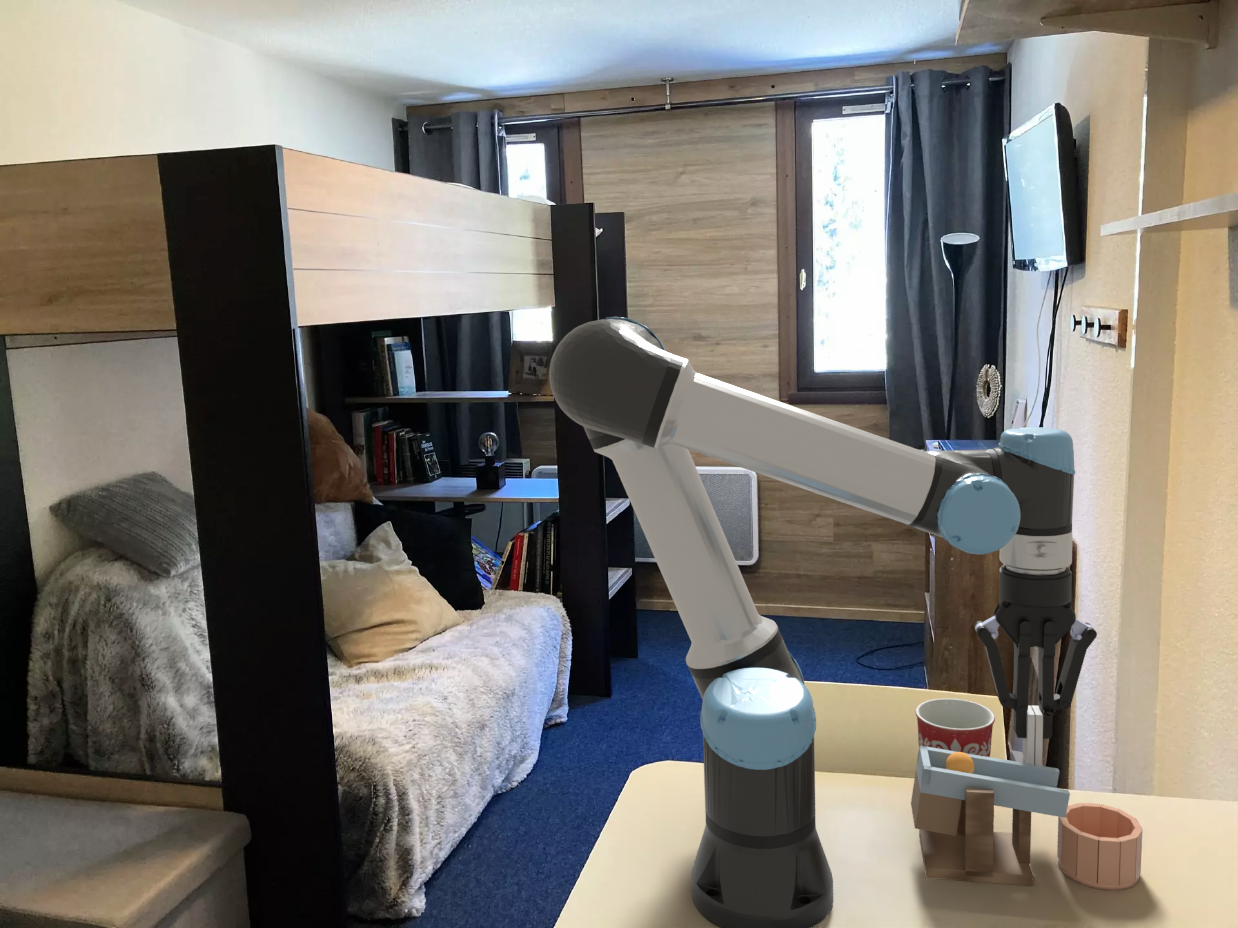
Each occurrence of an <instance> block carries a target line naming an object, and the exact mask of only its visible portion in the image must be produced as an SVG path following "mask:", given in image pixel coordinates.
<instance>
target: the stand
mask: <svg viewBox="0 0 1238 928" xmlns="http://www.w3.org/2000/svg"><path fill="white" fill-rule="evenodd" d="M994 818H995V805H994V791H993V789H982V788H965V800H962V803H961V809H960V815H959V822H958V828H957V834H956V836H954V835H948V834H943V833H937V832H932V831H926V830H921V829H918V830H919V832H918V833H919V835H918V836H919V842H920V843H919V844H920V848H921V849H920V850H921V855H922V860H923V867H924V873H925V878H926V879H936V880H938V879H939V880H951V881H963V882H975V883H976V882H977V883H989V884H991V883H992V884H1002V885H1003V884H1005V885H1014V886H1015V885H1017V886H1028V887H1029V886H1030V887H1034V873H1033V871H1032V868H1031V865H1030V864H1031V846H1032V845H1031V842H1032V841H1031V839H1032V812H1029V811H1024V810H1018V809H1012V823H1011V824H1012V827H1011V832H1001V831H1000V832H999V831H994V829H995V828H994V827H995V826H994V825H995V823H994V822H995V819H994Z"/></svg>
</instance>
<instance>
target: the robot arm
mask: <svg viewBox="0 0 1238 928" xmlns="http://www.w3.org/2000/svg"><path fill="white" fill-rule="evenodd" d="M551 356H552V357H551V360H550V364H549V384H550V385H549V386H550V388H551V392H552V395H553V399H555V401H556V403H557V405H558V407H559V408H560V409H561V410H562V411H563V413H564V414H565V415H566V416H567V417H568V418H569V419H571V420H572V421H573V422H575V423H577V424H578V425H580V426H582V427H583V429H584V432H585V433H586V436H587V438H588V440H589V443H590V445H591V447H592V449H593V451H594V453H597V454H599V455H602V456H605V457H606V458H609V459H610V460H612V463H613V465H614V467H615V469H616V472H617V473H618V477H619V478H620V481H621V483H622V486H623V488H624V490H625V492H626V495H627V496H628V500H629V501H630V503H631V507H632V508H633V511H634V514H635V516H636V517H637V521H638V522H639V524H640V528H641V530H642V532H643V534H644V536H645V539H646V540H647V543H648V545H649V547H650V550H651V552H652V554H653V557H654V559H655V561H656V564H657V566H658V569H659V570H660V573H661V575H662V578H663V579H664V582H665V584H666V586H667V589H668V591H669V594H670V595H671V599H672V601H673V603H674V605H675V607H676V610H677V611H678V614H679V617H680V619H681V621H682V624H683V626H684V628H685V630H686V632H687V635H688V637H689V639H690V642H691V644H690V647H689V650H688V652H687V654H686V657H685V663H686V665H687V666H688V669H689V672H690V673H691V676H692V679H693V680H694V681H693V682H694V684H695V686H696V688H697V690H698V693H699V695H700V697H701V699H702V706H701V709H700V717H699V718H700V728H701V731H702V747H703V748H702V749H703V751H702V752H703V777H704V778H703V780H704V784H703V785H704V809H705V812H704V813H705V827H704V829H703V833H702V836H701V840H700V843H699V845H698V849H697V852H696V855H695V859H694V863H693V865H692V869H691V876H690V878H691V880H690V882H691V898H692V901H693V904H694V905H695V907H696V909H697V910H698V911H699V912H700V914H701V915H703V917H704V918H706V919H707V920H708V921H709V922H711V923H713V924H715V925H717V926H718V927H720V928H812V927H815V926H816V925H818V924H819V923H820V922H822V921H823V920H824V919H825V918H826V917H827V916H828V914H829V913H830V912H831V910H832V908H833V905H834V904H833V903H834V878H833V877H834V876H833V873H832V870H831V867H830V865H829V862H828V859H827V856H826V854H825V853H826V852H825V851H824V847H823V845H822V842H821V840H820V836H819V834H818V830H817V825H816V776H815V775H816V769H815V768H816V767H815V766H816V765H815V761H816V760H815V759H816V758H815V757H816V756H815V754H816V753H815V733H816V729H817V716H816V715H817V714H816V710H815V707H814V701H813V696H812V695H811V692H810V691H809V689H808V688H807V686H806V685H805V680H804V676H803V673H802V670H801V668H800V666H799V663H798V662H797V660H796V659H795V658H794V656H793V654H792V653H791V652H790V651H789V650H788V648H787V645H786V643H785V641H784V638H783V636H782V634H781V633H782V632H781V631H780V629H779V626H778V624H777V623H776V622H775V621H774V620H773V619H770V618H768V617H764V616H762V615H761V614H759V612H758V610H757V608H756V605H755V603H754V601H753V598H752V596H751V594H750V591H749V588H748V586H747V584H746V582H745V579H744V577H743V574H742V572H741V570H740V567H739V565H738V563H737V560H736V559H735V556H734V553H733V551H732V549H731V547H730V544H729V542H728V539H727V536H726V534H725V532H724V530H723V528H722V525H721V524H720V523H721V522H720V521H719V518H718V516H717V514H716V511H715V509H714V507H713V504H712V501H711V500H710V497H709V494H708V492H707V490H706V488H705V485H704V483H703V480H702V477H701V476H700V473H699V471H698V469H697V467H696V464H695V462H694V459H693V457H692V455H691V452H690V451H693V452H695V453H698V454H701V455H704V456H706V457H710V458H712V459H716V460H718V461H722V462H724V463H728V464H730V465H733V466H736V467H739V468H743V469H745V470H747V471H751V472H754V473H756V474H759V475H761V476H765V477H769V478H771V479H774V480H777V481H779V482H782V483H785V484H788V485H791V486H794V487H797V488H800V489H803V490H806V491H809V492H812V493H815V494H817V495H821V496H822V497H827V498H830V499H833V500H835V501H838V502H840V503H844V504H847V505H849V506H853V507H855V508H857V509H861V510H864V511H867V512H870V513H873V514H876V515H878V516H882V517H885V518H888V519H891V520H894V521H896V522H899V523H902V524H905V525H907V526H909V527H913V528H915V529H917V530H920V531H923V532H926V533H929V534H930V535H934V536H936V537H940V538H943V539H944V540H945V541H946V543H948V544H950V546H951V547H953V548H956V549H959V550H960V551H963V552H965V553H968V554H971V555H972V554H973V555H987V554H991V553H994V552H997V551H999V558H998V559H999V561H1000V562H1001V563H1002V564H1003V565H1001V567H999V572H998V574H999V576H998V579H999V583H998V590H999V591H998V602H997V605H996V607H995V609H994V611H993V616H991V617H989V618H988V619H985V620H984V621H981V620H977V621H976V622H975V623H974V624H973V626H974V630H975V631H976V634H977V636H978V637H979V639H980V641H981V642H982V643H983V645H984V648H985V652H986V657H987V661H988V664H989V669H990V672H991V677H992V680H993V684H994V689H995V692H996V696H997V699H998V701H999V703H1000V705H1001V706H1002V707H1003V708H1010V709H1012V710H1013V730H1014V733H1015V735H1016V737H1017V739H1022V752H1023V759H1024V762H1025V763H1028V764H1033V765H1039V766H1042V765H1043V744H1044V742H1043V740H1044V739H1045V740H1051V739H1052V736H1053V724H1054V723H1053V719H1054V718H1053V716H1055V714H1056V711H1058V710H1061V709H1062V710H1068V709H1069V708H1071V705H1072V703H1073V699H1074V696H1075V692H1076V689H1077V685H1078V681H1079V678H1080V675H1081V671H1082V667H1083V665H1084V661H1085V657H1086V654H1087V650H1088V649H1089V648H1090V646H1091V645H1092V643H1093V642H1094V641H1095V640H1096V639H1097V635H1098V633H1097V631H1096V630H1095V628H1094V627H1093V626H1092V625H1091V623H1089V622H1087V621H1086V622H1084V621H1082V620H1080V619H1078V617H1077V616H1076V613H1075V611H1074V609H1073V607H1072V587H1073V586H1072V584H1073V583H1072V579H1073V572H1072V571H1071V570H1070V568H1069V566H1071V565H1072V563H1073V510H1074V489H1075V475H1076V470H1075V452H1074V451H1075V450H1074V442H1073V438H1072V436H1071V435H1070V433H1068V432H1067V431H1065V430H1062V429H1059V428H1053V427H1040V426H1039V427H1037V426H1033V427H1030V426H1029V427H1020V428H1010V429H1006V430H1004V431H1003V432H1001V435H1000V440H999V442H998V447H992V448H986V449H985V448H984V449H960V450H950V449H949V450H925V449H917V448H914V447H912V446H909V445H906V444H903V443H900V442H898V441H895V440H891V439H889V438H886V437H883V436H880V435H876V434H874V433H871V432H868V431H866V430H863V429H860V428H857V427H854V426H851V425H849V424H845V423H842V422H841V421H840V422H839V421H837V420H833V419H830V418H827V417H825V416H823V415H820V414H817V413H814V412H812V411H811V412H810V411H808V410H805V409H802V408H799V407H796V406H793V405H791V404H787V403H784V402H781V401H779V400H776V399H773V398H770V397H767V396H764V395H761V394H759V393H756V392H753V391H750V390H747V389H745V388H741V387H738V386H736V385H733V384H730V383H728V382H724V381H721V380H719V379H715V378H713V377H710V376H707V375H704V374H701V373H699V372H697V371H695V369H694V368H693V366H692V364H691V362H690V359H688V358H686V357H682V356H679V355H676V354H675V353H671V352H668V351H666V348H665V346H664V344H663V343H662V341H661V340H660V339H659V337H657V335H656V333H655V332H653V331H652V330H651V329H650V328H649V327H648V326H647V325H645V324H642V323H641V322H639V321H637V320H634V319H631V318H628V317H621V316H619V317H618V316H609V317H605V318H602V319H598V320H593V321H588V322H585V323H583V324H581V325H578V326H577V327H574V328H573V329H572V330H571V331H569V332H568V333H567V334H566V335H565V336H563V338H562V339H561V340H560V342H559V343H558V344H557V346H556V348H555V349H554V352H553V355H551ZM999 627H1001V628H1002V630H1003V631H1004V633H1005V634H1006V635H1007V637H1008V638H1009V639H1010V640H1011V642H1012V643H1013V652H1014V653H1013V685H1012V687H1013V688H1012V689H1013V692H1012V693H1011V692H1010V691H1009V687H1008V683H1007V679H1006V675H1005V670H1004V667H1003V662H1002V658H1001V655H1000V651H999V648H998V644H997V642H996V639H998V637H999V631H998V630H999ZM1069 630H1070V632H1069V633H1070V636H1071V638H1070V641H1069V644H1068V647H1067V652H1066V655H1065V658H1064V662H1063V665H1062V669H1061V672H1060V676H1059V678H1058V679H1059V680H1058V684H1057V686H1056V690H1055V657H1056V645H1057V644H1058V643H1059V642H1060V640H1061V639H1062V638H1063V637H1064V636H1065V635H1066V634H1067V633H1068V631H1069ZM1034 647H1036V648H1037V649H1038V652H1037V653H1038V655H1037V656H1038V658H1037V659H1038V661H1037V663H1038V664H1037V665H1038V666H1037V667H1038V668H1037V669H1038V670H1037V672H1038V673H1037V675H1038V676H1037V677H1038V679H1037V681H1038V683H1037V684H1038V686H1037V688H1038V689H1037V691H1038V692H1037V693H1038V694H1037V699H1038V700H1037V702H1038V705H1029V688H1030V686H1029V685H1030V681H1029V680H1030V679H1029V678H1030V657H1031V648H1034Z"/></svg>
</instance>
